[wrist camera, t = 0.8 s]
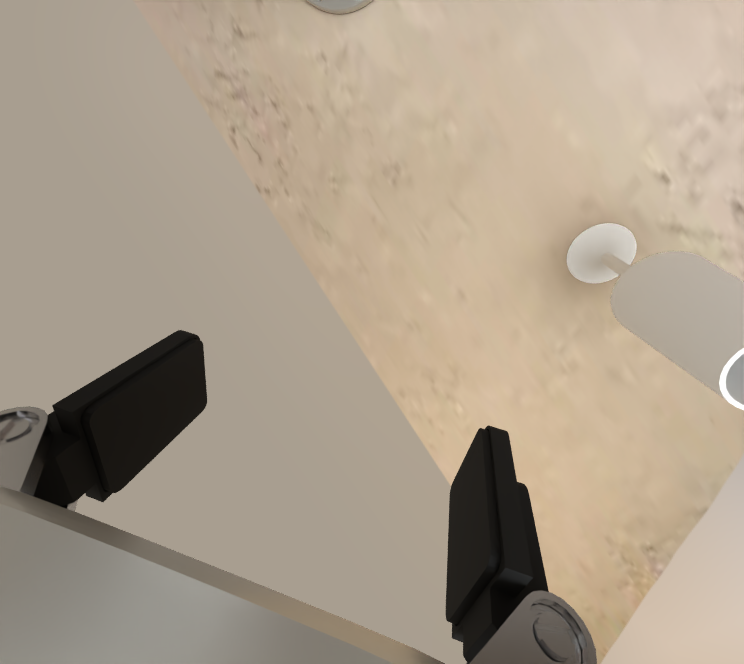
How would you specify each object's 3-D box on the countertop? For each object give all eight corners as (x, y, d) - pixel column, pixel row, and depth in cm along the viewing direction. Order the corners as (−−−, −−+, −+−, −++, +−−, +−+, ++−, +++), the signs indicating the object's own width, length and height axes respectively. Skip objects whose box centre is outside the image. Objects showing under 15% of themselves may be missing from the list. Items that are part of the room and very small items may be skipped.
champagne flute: (605, 293, 38) (776, 448, 17) (553, 267, 38) (661, 390, 18) (652, 240, 35) (933, 354, 14) (595, 211, 35) (791, 282, 14)
